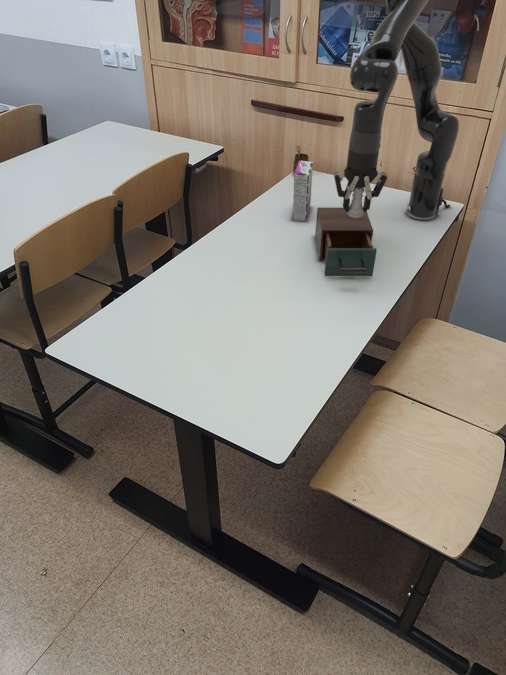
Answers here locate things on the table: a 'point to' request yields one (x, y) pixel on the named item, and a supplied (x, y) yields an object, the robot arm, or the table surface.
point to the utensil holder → (299, 158)
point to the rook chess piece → (356, 203)
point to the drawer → (348, 254)
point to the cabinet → (338, 225)
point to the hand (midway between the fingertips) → (355, 210)
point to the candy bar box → (302, 190)
